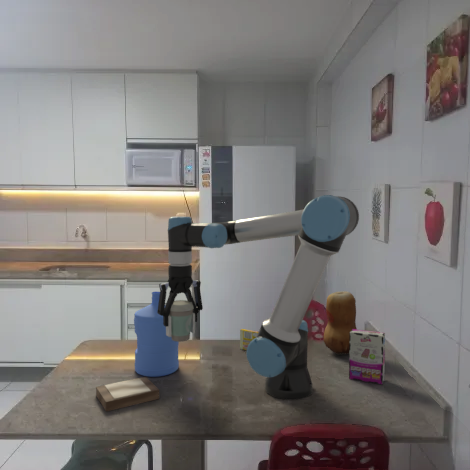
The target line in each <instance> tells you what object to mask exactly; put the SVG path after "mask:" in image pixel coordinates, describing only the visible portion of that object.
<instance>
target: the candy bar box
mask: <svg viewBox="0 0 470 470" xmlns="http://www.w3.org/2000/svg"><path fill="white" fill-rule="evenodd" d="M385 347H386V333H385V332H382V331H375V330H373V331H372V330H366V329H365V330H364V329H357V330H356V329H352V330H351V331H350V337H349V354H348V357H349V358H348V363H349V364H348V367H349V368H348V379H349V380H354V381H360V382H365V383H370V384H371V383H372V384H377V385H383V383H384V381H385V367H386V365H385V361H386V360H385V359H386V357H385V355H386V350H385V349H386V348H385Z"/></svg>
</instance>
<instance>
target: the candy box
mask: <svg viewBox="0 0 470 470" xmlns="http://www.w3.org/2000/svg"><path fill="white" fill-rule="evenodd" d="M239 331H240V332H239V334H240V335H239V350H243V351H247V347H248V345H249V344H250V342H251V341H252V340H253V339H255V338H256V337H257V335H258V332H259V330H258V331H257V330H251V329H245V328H240V329H239Z"/></svg>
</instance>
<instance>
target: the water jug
mask: <svg viewBox="0 0 470 470" xmlns="http://www.w3.org/2000/svg"><path fill="white" fill-rule="evenodd" d="M151 295H152V296H151V303H150V304H148V305H146V306H144V307H142V308H140V309H139V310H136V311H135V313H134V319H133V325H134V334H135V335H136V345H137V347H136V349H135V351H134V371H135V372H136V373H137V374H138V375H140V376H142V377H147V378H148V377H149V378H151V377H152V378H159V377H164V376H168V375H171V374H173V373H175V372H176V371H177V370H178V369H179V366H180V364H179V363H180V361H179V344H180V342H177V341H173V340H172V337H168V336H167V335H166V327H165V326H164V325H163V316H161V315H159V314H158V313H157V311H158V303H159V296H160V291H153V292H151ZM164 308H165V307H164Z"/></svg>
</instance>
